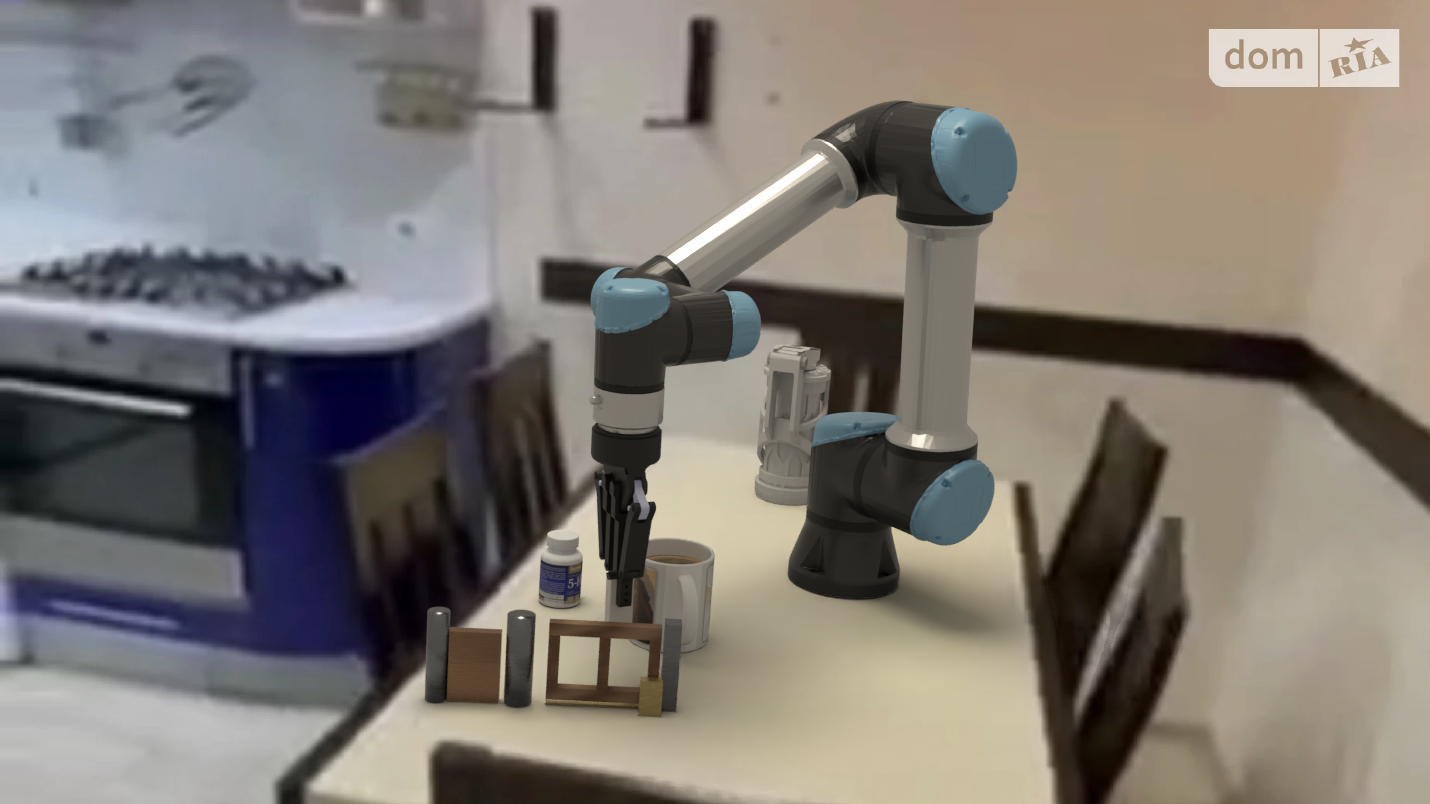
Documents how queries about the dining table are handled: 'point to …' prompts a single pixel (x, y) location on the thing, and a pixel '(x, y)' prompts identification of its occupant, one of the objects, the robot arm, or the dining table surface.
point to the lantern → (790, 422)
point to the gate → (599, 659)
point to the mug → (676, 589)
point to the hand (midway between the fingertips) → (618, 629)
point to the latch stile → (663, 675)
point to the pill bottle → (561, 570)
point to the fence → (484, 662)
